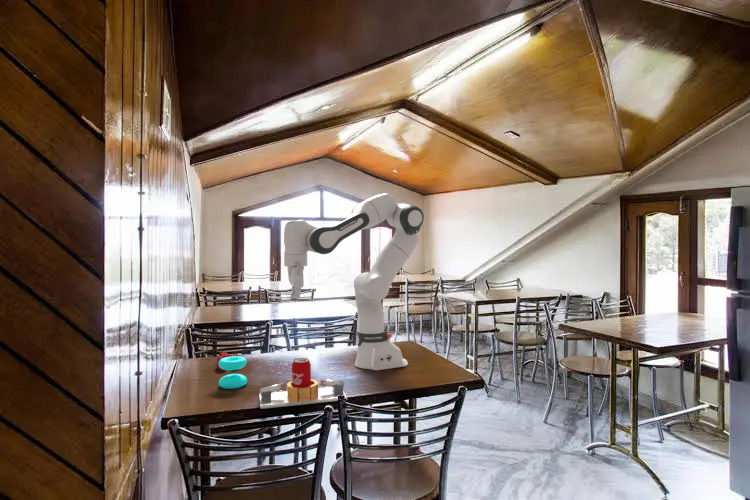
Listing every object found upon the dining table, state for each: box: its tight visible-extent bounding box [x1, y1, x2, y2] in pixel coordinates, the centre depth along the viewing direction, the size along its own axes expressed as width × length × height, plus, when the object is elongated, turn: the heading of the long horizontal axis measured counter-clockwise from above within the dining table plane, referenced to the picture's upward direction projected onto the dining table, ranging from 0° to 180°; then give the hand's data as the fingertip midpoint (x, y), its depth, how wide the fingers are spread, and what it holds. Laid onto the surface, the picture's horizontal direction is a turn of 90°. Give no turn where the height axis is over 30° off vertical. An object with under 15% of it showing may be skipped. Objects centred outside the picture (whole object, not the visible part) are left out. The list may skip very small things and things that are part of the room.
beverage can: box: [291, 357, 312, 387], centre depth 159 cm, size 6×6×12 cm
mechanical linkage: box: [217, 351, 238, 372], centre depth 201 cm, size 16×7×5 cm, turn 31°
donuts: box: [217, 355, 248, 390], centre depth 174 cm, size 10×10×10 cm
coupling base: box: [258, 378, 348, 410], centre depth 159 cm, size 28×12×6 cm, turn 105°
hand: (296, 297), depth 183 cm, fingers open, 8 cm apart
